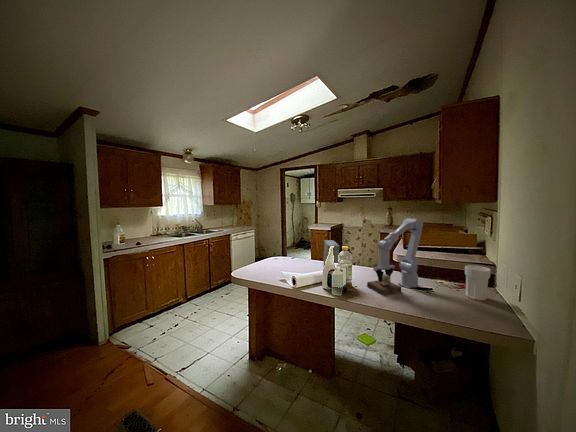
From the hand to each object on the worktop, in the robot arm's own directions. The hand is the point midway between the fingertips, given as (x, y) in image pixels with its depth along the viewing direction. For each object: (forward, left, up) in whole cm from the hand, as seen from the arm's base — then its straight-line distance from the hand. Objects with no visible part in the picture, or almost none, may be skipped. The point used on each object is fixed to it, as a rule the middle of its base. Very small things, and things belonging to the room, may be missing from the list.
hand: (383, 280), depth 144 cm
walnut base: (0, 0, -5) cm, 5 cm away
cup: (-41, +27, -6) cm, 49 cm away
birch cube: (0, 0, -2) cm, 2 cm away
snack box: (+21, -30, -6) cm, 37 cm away
